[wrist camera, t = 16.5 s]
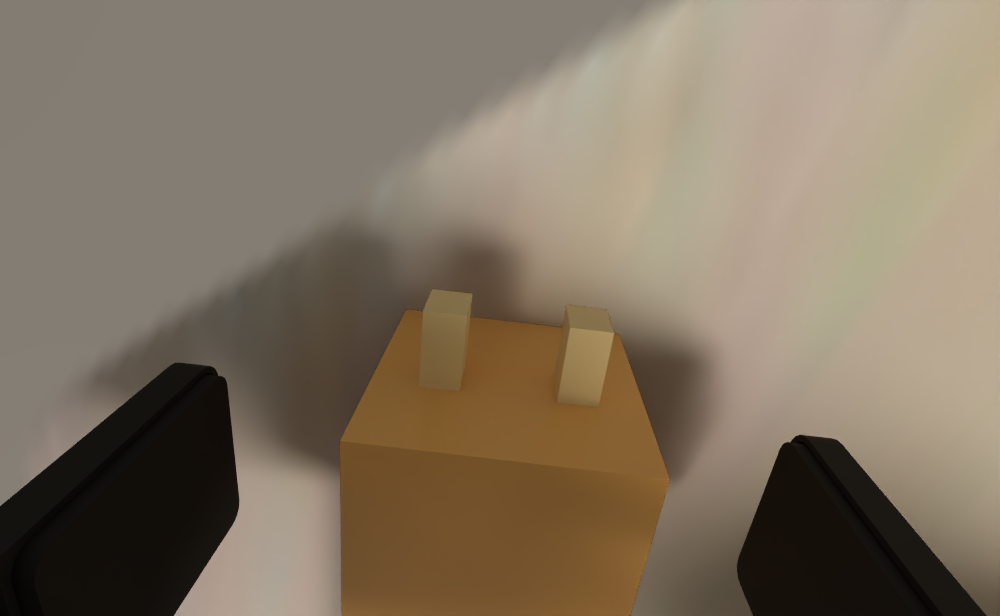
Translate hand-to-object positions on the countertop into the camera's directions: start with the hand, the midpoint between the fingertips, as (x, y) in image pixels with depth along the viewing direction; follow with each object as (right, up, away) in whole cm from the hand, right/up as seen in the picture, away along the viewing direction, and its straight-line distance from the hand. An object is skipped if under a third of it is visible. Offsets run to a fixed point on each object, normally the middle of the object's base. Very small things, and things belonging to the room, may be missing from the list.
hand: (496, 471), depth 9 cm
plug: (0, -4, +4) cm, 5 cm away
